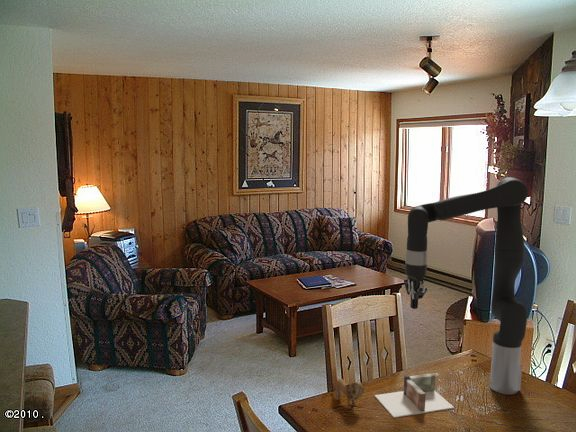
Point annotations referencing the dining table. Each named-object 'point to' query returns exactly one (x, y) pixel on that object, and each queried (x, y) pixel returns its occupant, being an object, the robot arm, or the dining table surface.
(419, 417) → the dining table surface
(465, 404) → the dining table surface
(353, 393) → the lion figurine
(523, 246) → the robot arm
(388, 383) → the dining table surface
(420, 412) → the card
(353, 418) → the dining table surface
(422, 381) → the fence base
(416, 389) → the fence panel
